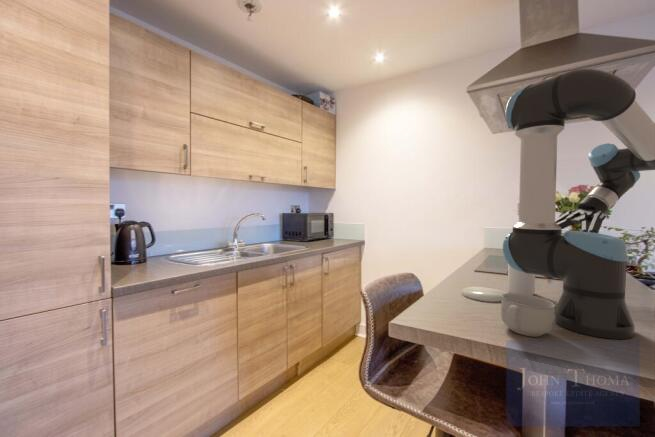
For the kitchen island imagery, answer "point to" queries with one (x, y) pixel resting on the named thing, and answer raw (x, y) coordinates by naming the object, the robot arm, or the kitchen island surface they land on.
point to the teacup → (527, 314)
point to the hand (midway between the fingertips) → (552, 246)
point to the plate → (483, 294)
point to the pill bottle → (520, 282)
